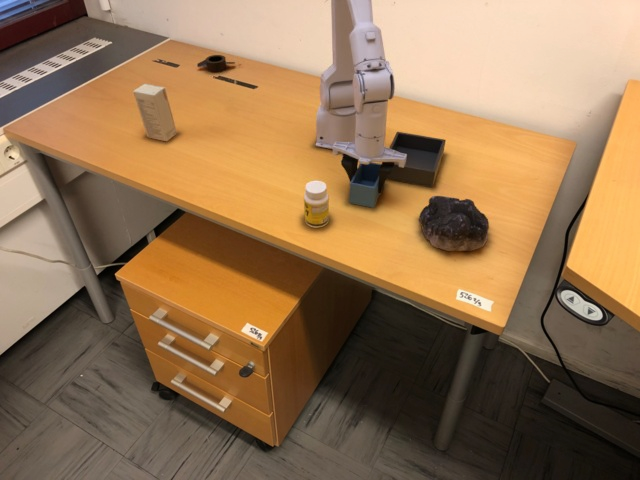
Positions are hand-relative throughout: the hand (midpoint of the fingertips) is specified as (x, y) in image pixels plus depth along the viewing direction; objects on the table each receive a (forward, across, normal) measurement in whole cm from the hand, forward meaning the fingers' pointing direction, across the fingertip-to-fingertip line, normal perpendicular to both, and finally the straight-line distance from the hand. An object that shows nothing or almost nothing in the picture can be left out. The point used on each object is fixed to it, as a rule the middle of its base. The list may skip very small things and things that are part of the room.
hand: (367, 188), depth 107 cm
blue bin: (+1, 0, 0) cm, 1 cm away
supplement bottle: (+2, -7, -11) cm, 13 cm away
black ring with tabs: (+2, -59, +45) cm, 74 cm away
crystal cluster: (+2, +19, -6) cm, 20 cm away
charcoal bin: (+2, +7, +13) cm, 15 cm away
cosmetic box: (+2, -54, +7) cm, 54 cm away
